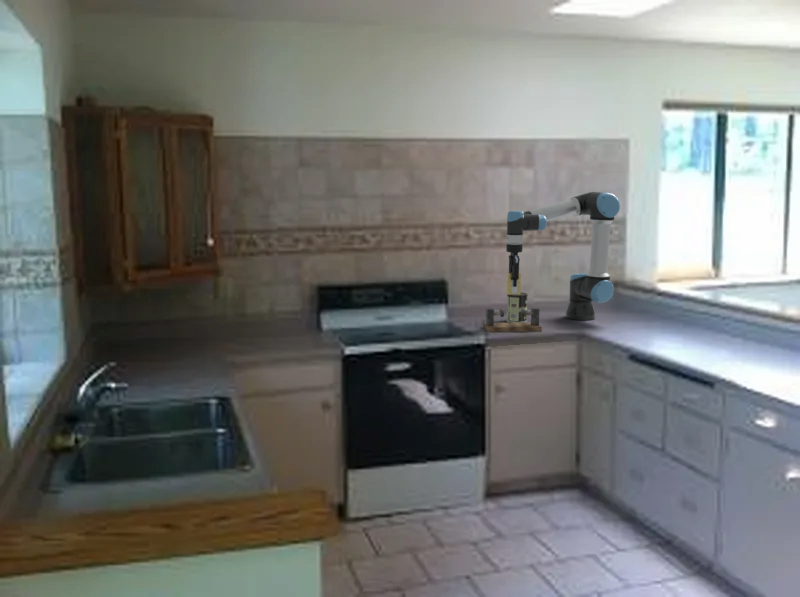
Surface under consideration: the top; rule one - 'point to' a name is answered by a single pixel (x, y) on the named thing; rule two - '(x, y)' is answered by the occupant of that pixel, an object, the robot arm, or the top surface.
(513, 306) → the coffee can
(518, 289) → the coupler
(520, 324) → the shaft stand
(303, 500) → the top surface
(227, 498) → the top surface
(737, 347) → the top surface
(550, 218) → the robot arm
